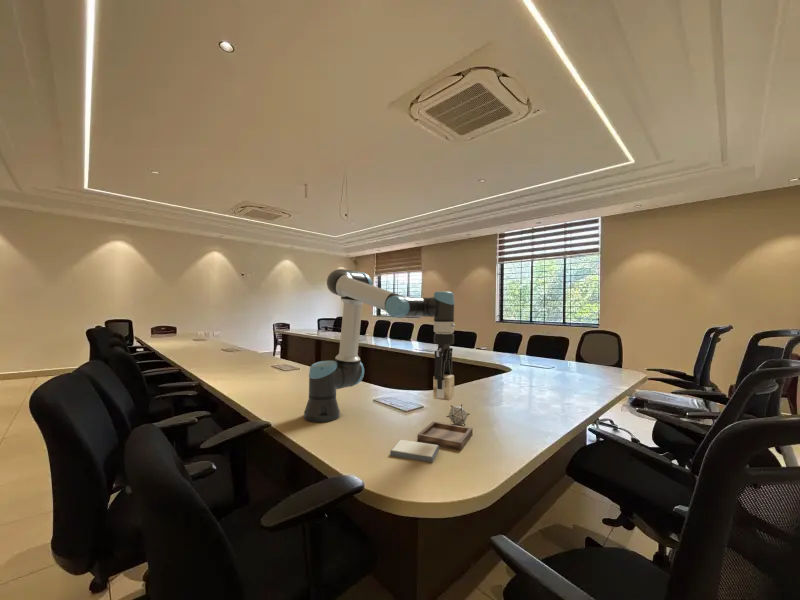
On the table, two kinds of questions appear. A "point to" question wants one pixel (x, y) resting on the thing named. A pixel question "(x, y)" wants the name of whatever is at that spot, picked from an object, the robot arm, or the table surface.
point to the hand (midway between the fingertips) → (443, 395)
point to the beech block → (448, 387)
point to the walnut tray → (445, 435)
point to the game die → (458, 415)
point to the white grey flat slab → (415, 450)
